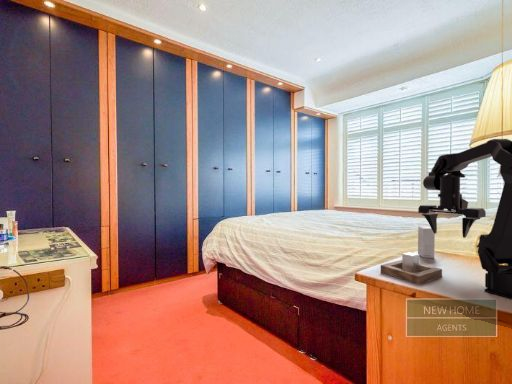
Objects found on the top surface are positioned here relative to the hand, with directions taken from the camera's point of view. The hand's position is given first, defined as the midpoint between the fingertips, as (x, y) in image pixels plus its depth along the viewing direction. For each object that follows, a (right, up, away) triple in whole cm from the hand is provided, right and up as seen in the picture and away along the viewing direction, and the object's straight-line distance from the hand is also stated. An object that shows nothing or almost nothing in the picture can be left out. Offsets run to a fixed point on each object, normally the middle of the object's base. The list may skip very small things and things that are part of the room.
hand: (449, 235), depth 95 cm
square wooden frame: (-16, -12, -4) cm, 21 cm away
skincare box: (+3, -12, +18) cm, 21 cm away
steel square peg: (-16, -13, -4) cm, 21 cm away
